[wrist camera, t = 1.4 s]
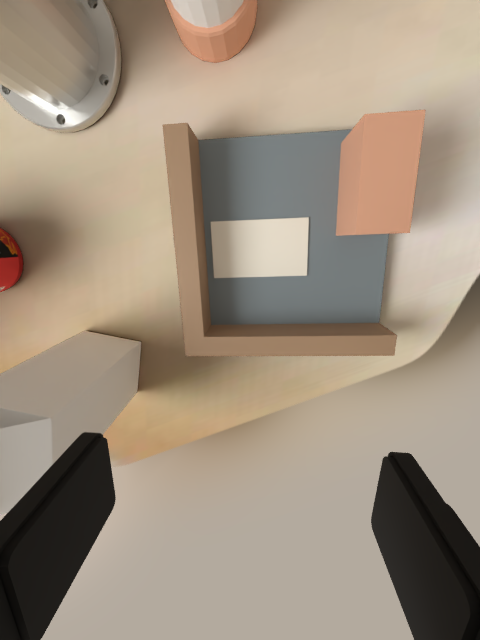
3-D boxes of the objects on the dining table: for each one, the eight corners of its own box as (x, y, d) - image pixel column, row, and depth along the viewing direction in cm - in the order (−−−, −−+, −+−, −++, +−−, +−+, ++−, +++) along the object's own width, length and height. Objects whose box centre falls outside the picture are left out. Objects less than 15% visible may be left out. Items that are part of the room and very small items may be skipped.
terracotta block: (341, 143, 25) (364, 114, 19) (387, 139, 25) (425, 109, 19) (335, 235, 27) (355, 234, 21) (378, 234, 27) (409, 232, 21)
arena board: (180, 145, 27) (162, 124, 22) (394, 131, 25) (426, 105, 20) (197, 338, 33) (185, 356, 28) (373, 336, 31) (394, 355, 26)
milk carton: (142, 340, 33) (-3, 463, 15) (138, 392, 35) (6, 554, 17) (85, 329, 33) (-127, 437, 15) (84, 381, 35) (-103, 530, 17)
